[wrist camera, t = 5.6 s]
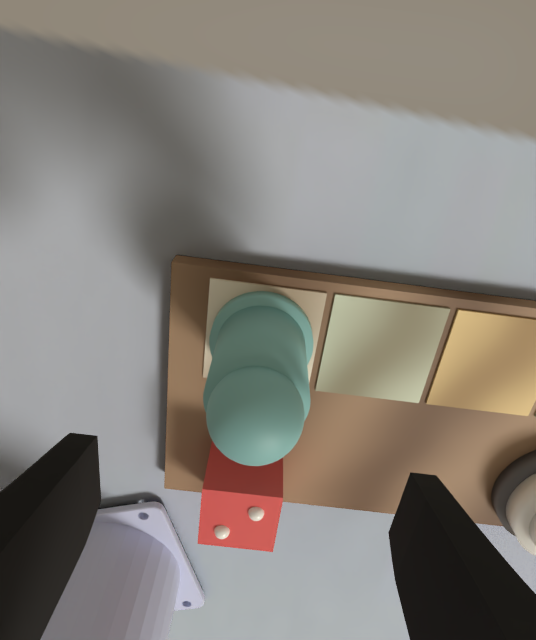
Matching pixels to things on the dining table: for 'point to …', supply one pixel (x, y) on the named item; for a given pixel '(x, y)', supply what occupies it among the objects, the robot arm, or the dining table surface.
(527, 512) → the dome
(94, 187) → the dining table surface
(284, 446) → the pawn
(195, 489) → the game board
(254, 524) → the red die
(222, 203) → the dining table surface
